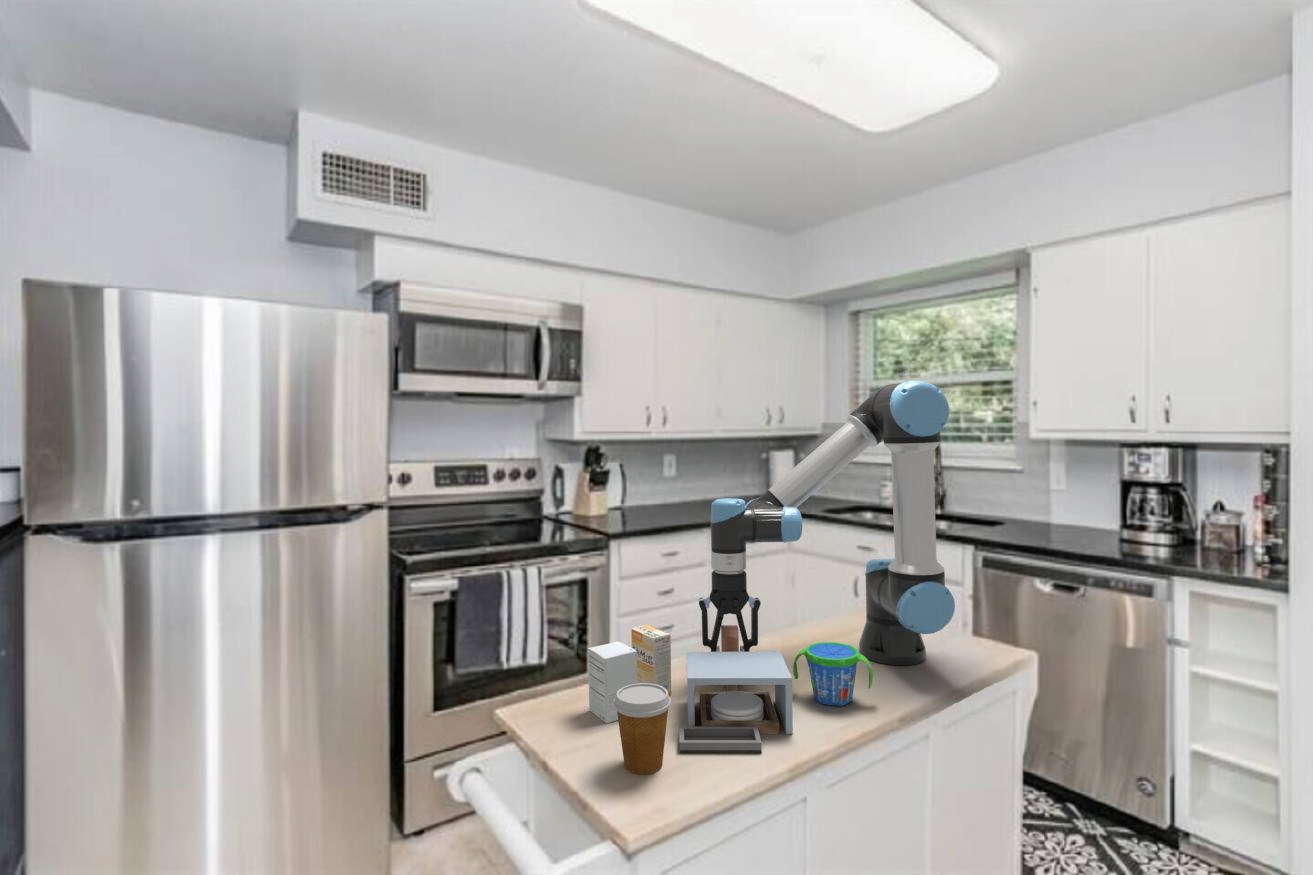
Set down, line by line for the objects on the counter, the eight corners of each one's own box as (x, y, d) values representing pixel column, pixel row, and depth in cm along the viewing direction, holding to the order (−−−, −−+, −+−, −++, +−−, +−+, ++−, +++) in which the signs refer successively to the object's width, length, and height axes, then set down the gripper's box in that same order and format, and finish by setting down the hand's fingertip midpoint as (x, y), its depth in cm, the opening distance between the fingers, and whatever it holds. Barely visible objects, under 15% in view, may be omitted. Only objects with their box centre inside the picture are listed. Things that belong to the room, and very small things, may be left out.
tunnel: (781, 701, 135) (780, 651, 134) (792, 733, 121) (792, 677, 120) (687, 701, 135) (686, 651, 135) (688, 733, 121) (687, 678, 121)
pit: (757, 736, 120) (757, 726, 120) (761, 752, 114) (761, 742, 114) (679, 736, 120) (679, 726, 120) (679, 752, 114) (679, 742, 114)
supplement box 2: (630, 688, 142) (629, 627, 142) (649, 683, 145) (648, 623, 145) (653, 701, 136) (652, 637, 136) (672, 695, 139) (671, 632, 138)
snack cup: (787, 702, 134) (786, 651, 134) (802, 683, 144) (802, 636, 143) (866, 717, 127) (866, 664, 127) (877, 697, 136) (877, 647, 136)
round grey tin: (736, 735, 121) (735, 716, 121) (700, 716, 129) (700, 698, 129) (774, 720, 127) (774, 701, 127) (737, 702, 135) (737, 685, 135)
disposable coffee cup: (645, 745, 117) (644, 677, 117) (684, 764, 110) (682, 692, 110) (602, 764, 111) (601, 693, 111) (641, 786, 104) (639, 710, 104)
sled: (761, 679, 146) (761, 625, 146) (779, 733, 121) (778, 668, 120) (698, 679, 147) (697, 625, 147) (701, 733, 121) (700, 668, 121)
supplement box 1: (620, 701, 136) (619, 640, 136) (639, 714, 130) (638, 650, 129) (588, 710, 132) (586, 647, 132) (605, 724, 126) (604, 657, 125)
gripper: (688, 574, 141) (690, 684, 141) (772, 573, 140) (773, 683, 141) (688, 567, 149) (689, 670, 149) (767, 566, 148) (768, 670, 148)
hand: (730, 677), depth 145 cm, fingers open, 4 cm apart
